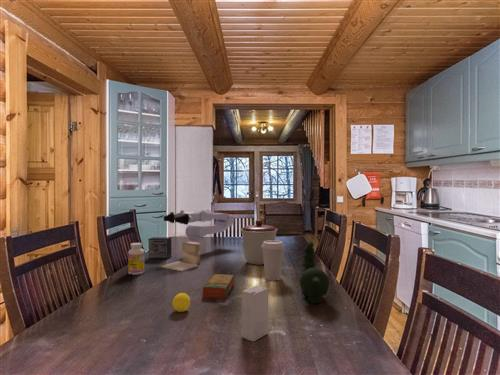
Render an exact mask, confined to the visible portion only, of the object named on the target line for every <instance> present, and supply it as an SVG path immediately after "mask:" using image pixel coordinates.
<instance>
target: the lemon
mask: <svg viewBox="0 0 500 375" xmlns="http://www.w3.org/2000/svg"><path fill="white" fill-rule="evenodd" d="M171 304H172V307H173V309H174V310H175V311H176V312H179V313H183V312H186V311H187V310H189V309H190V305H191V298H190V296H189V295H188V294H187V293H185V292H180V293H177V295H175V296H174V298H173V299H172V303H171Z"/></svg>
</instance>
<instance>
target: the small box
mask: <svg viewBox="0 0 500 375" xmlns="http://www.w3.org/2000/svg"><path fill="white" fill-rule="evenodd" d="M147 240H148V259H149V260H155V259H156V260H169V259H170V258H172V254H173V253H172V237H171V236H170V237H169V236H168V237H166V236H165V237H162V236H161V237H160V236H157V237H155V236H153V237H150V238H148V239H147Z"/></svg>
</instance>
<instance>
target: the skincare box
mask: <svg viewBox="0 0 500 375" xmlns="http://www.w3.org/2000/svg"><path fill="white" fill-rule="evenodd" d="M268 333H269V288H268V287H264V286H260V285H254V286H251V287H249V288H247V289H244V290H242V291H241V337H242V338H244V339H245V340H248V341H250V342H256V341H257V340H259V339H260V338H262V337H264V336H266V335H267V334H268Z"/></svg>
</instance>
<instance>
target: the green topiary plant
mask: <svg viewBox="0 0 500 375" xmlns="http://www.w3.org/2000/svg"><path fill="white" fill-rule="evenodd" d="M305 245H306V247H304V249H303V251H304V254H303V255H302V258H303V259H304V261H303V263H302V267H304V268H303V271H302V274H301V276H300V279H299V286H300V288H301V294H302V295H303V296H305V297H307V296H308V297H307V300H308V302H309V303H310V302H311V304H314V303H317V304H320V303H321V302H322V299H323V298H322V296H324V295H326V294H327V293H328V290H329V287H330V280H329V277H328V275H327V274H326V272H325V271H323V270H322V269H320V268H318V267H316V262H315V258H316V256H315V254H314V252H315V250H314V243H313V241H307V243H306V244H305Z"/></svg>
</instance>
